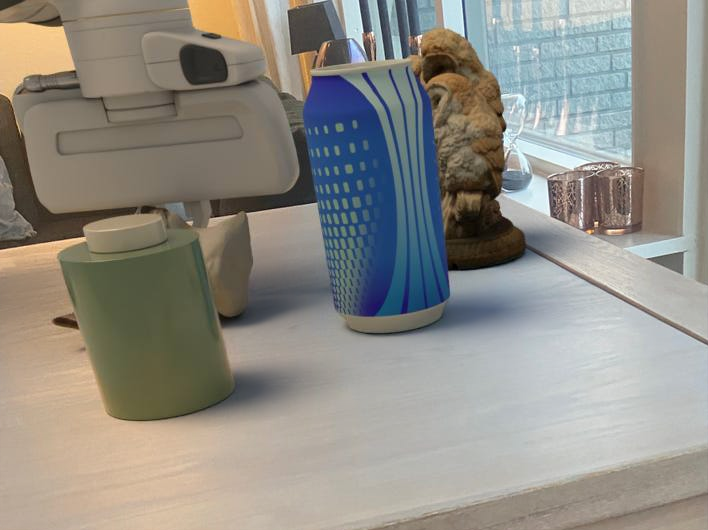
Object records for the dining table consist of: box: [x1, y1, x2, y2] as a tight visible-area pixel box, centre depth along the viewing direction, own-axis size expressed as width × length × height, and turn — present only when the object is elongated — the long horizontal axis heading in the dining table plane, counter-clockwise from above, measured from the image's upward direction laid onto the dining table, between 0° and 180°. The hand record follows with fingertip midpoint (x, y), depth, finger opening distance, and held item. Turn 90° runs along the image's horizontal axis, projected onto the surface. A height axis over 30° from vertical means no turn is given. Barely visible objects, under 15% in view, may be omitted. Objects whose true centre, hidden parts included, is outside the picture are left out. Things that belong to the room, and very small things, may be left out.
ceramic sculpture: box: [51, 205, 254, 331], centre depth 72 cm, size 11×9×15 cm
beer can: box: [302, 58, 451, 334], centre depth 65 cm, size 8×8×16 cm
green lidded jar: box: [56, 213, 236, 421], centre depth 57 cm, size 8×8×10 cm
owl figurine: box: [405, 27, 527, 270], centre depth 82 cm, size 18×12×17 cm, turn 28°
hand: (188, 262), depth 77 cm, fingers closed, pressing on ceramic sculpture
